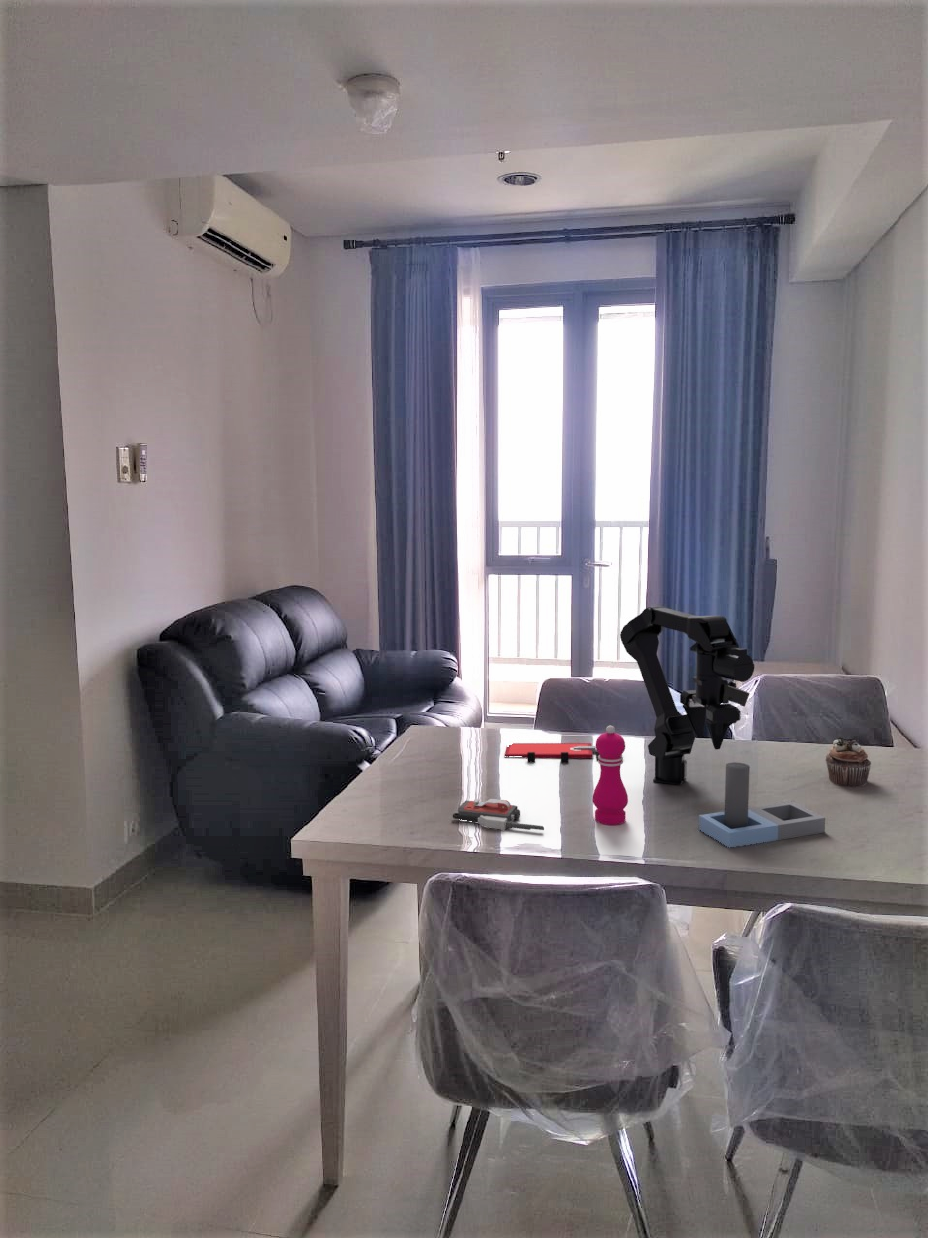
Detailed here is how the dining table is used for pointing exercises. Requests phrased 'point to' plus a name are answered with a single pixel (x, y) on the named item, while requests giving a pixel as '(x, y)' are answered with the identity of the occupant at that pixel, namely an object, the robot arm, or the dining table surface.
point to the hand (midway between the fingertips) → (708, 743)
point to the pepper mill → (610, 780)
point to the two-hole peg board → (764, 824)
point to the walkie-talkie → (492, 814)
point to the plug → (736, 795)
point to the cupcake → (848, 763)
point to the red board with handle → (552, 750)
